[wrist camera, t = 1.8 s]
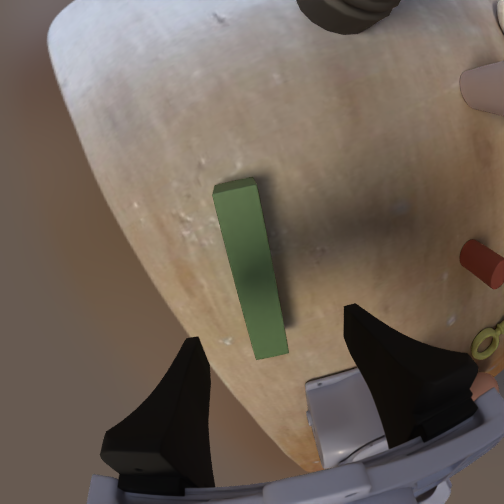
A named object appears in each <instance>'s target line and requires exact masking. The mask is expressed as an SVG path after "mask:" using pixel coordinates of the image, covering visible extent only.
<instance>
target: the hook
mask: <svg viewBox="0 0 504 504" xmlns="http://www.w3.org/2000/svg"><path fill="white" fill-rule="evenodd" d="M497 14H498V19H499V22H500V26H501V28H502V31H503V33H504V0H500V1H499V2H498V4H497Z"/></svg>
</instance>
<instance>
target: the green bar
mask: <svg viewBox="0 0 504 504" xmlns="http://www.w3.org/2000/svg"><path fill="white" fill-rule="evenodd" d="M212 196H213V200H214V204H215V208H216V212H217V216H218V220H219V224H220V228H221V232H222V236H223V240H224V244H225V248H226V251H227V255H228V259H229V263H230V267H231V270H232V274H233V278H234V282H235V286H236V289H237V293H238V297H239V300H240V304H241V308H242V311H243V315H244V319H245V322H246V326H247V330H248V333H249V337H250V340H251V344H252V347H253V351H254V354H255V358H256V360H259V359H264V358H269V357H274V356H278V355H283V354H287V353H289V350H288V344H287V339H286V333H285V328H284V322H283V317H282V311H281V306H280V300H279V295H278V290H277V284H276V279H275V274H274V268H273V263H272V258H271V253H270V248H269V243H268V237H267V232H266V227H265V222H264V217H263V212H262V207H261V202H260V197H259V192H258V187H257V184H256V182H255V181H254V179H253V177H249V178H245V179H240V180H235V181H231V182H227V183H222V184H218V185H215V186H214V190H213V194H212Z"/></svg>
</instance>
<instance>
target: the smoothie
mask: <svg viewBox="0 0 504 504" xmlns="http://www.w3.org/2000/svg"><path fill="white" fill-rule="evenodd" d="M460 89H461V93H462V96H463V98H464V100H465V101H466V103H467V104H468V105H469V106H470V107H471V108H473V109H477V110H481V111H485V112H489V113H493V114H497V115H501V116H504V61H501V62H497V63H493V64H489V65H485V66H482V67H478V68H475V69H471V70H468V71H465V72H463V73H462V75H461V77H460Z"/></svg>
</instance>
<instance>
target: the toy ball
mask: <svg viewBox="0 0 504 504" xmlns="http://www.w3.org/2000/svg"><path fill="white" fill-rule="evenodd" d="M493 387H495V389H496V390H497V391H498V393H499V387H498V384H497V381H496V380H495V379H494V377H493V376H491V374H488V373H484V372H479V373H477V376H476V378H475V380H474V382H473V384H472V386H471V388H470V390H471V392H472V393H473V396H472V397H471V398H472V399H473V401H475V400H476V399H477V398H478V397H479V396H481V395H482V394H484V393H485V392H487V391H488V390H490V389H491V388H493Z"/></svg>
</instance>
